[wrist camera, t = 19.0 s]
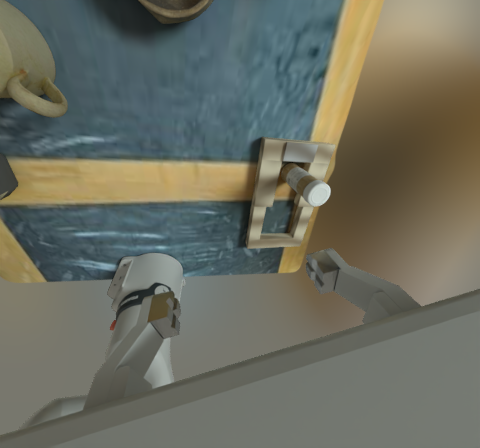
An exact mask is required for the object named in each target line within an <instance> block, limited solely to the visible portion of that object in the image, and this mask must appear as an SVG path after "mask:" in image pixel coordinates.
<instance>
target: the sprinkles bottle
mask: <svg viewBox="0 0 480 448" xmlns="http://www.w3.org/2000/svg"><path fill="white" fill-rule="evenodd" d="M281 177H282V179H283V180H284V181H286V182H287V183H288V185H289V186H291V187H292V188H293V189H294V190H295V191H296V192H297V193H298V194H300V195H301V196H302V197H303V198H304V200H305V201H306V202H307V203H308V204H310V205H311V206H320V205H322V204H323V203H325V202H326V201H327V199H328V198H329V196H330V192H331V190H330V187H329V186H328V185H327V184H326V183H324V182H323V181H321V180H318V179H316V178H315V177H314V176H313V175H311V174H310V173H308V172H307V171H305V170H304V169H302V168H300V167H298V166H297V165H296V164H294V163H289V164H287V165H285V166H284V167H283V169H282V171H281Z"/></svg>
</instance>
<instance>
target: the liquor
mask: <svg viewBox="0 0 480 448" xmlns="http://www.w3.org/2000/svg"><path fill="white" fill-rule="evenodd" d="M17 186H18V182H17V179H16V177H15V175H14V173H13V171H12V169H11V167H10V165H9V163H8V161H7V159H6V157H5V156H4V155H2V154H1V153H0V200H1V199H3V198H5V197H7V196H9V195H10V194H11V193H12V192H13V191H14V190H15V188H16V187H17Z"/></svg>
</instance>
